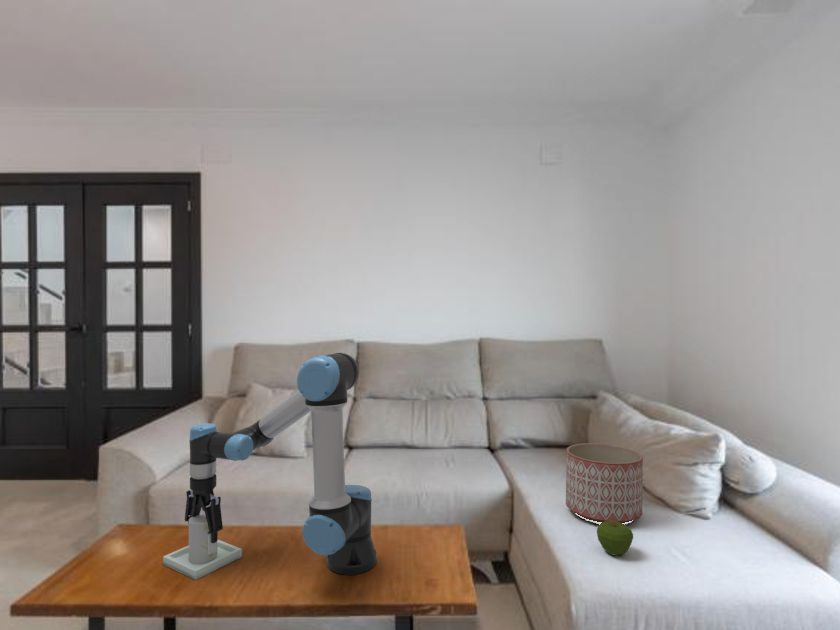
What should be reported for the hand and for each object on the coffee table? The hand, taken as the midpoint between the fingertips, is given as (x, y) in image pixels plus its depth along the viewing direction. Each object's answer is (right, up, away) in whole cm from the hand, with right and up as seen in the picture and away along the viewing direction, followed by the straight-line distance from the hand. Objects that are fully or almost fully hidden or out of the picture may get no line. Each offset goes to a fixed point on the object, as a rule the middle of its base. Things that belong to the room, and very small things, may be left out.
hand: (203, 548), depth 155 cm
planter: (+136, -4, +37) cm, 142 cm away
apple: (+129, -5, +7) cm, 129 cm away
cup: (0, -3, 0) cm, 3 cm away
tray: (0, -4, 0) cm, 4 cm away
